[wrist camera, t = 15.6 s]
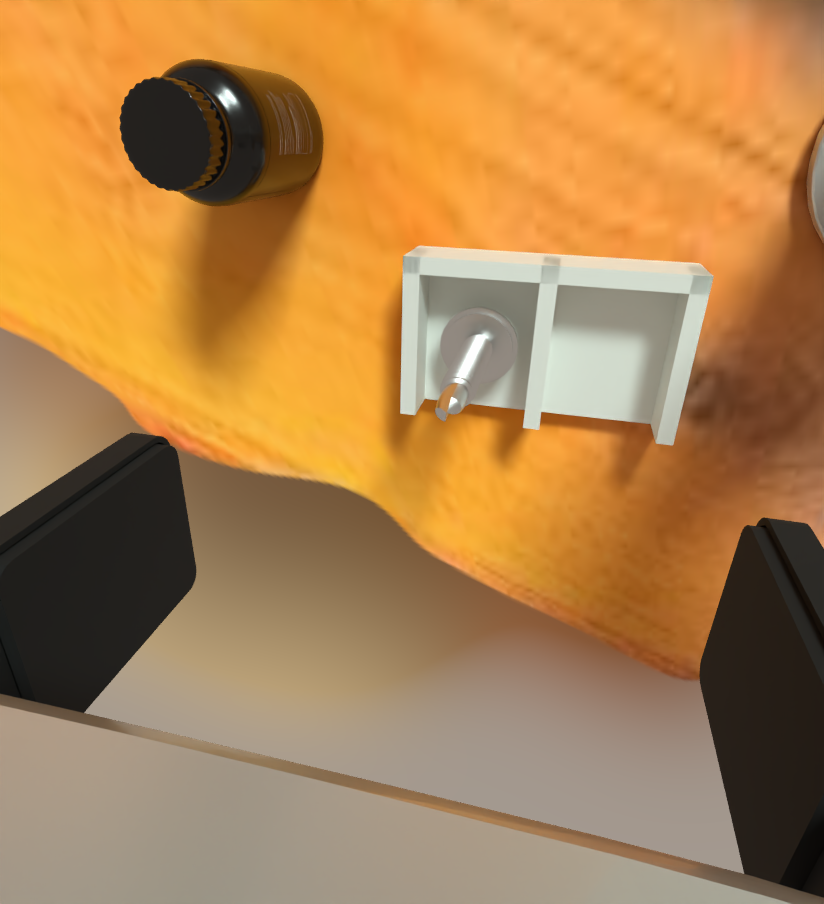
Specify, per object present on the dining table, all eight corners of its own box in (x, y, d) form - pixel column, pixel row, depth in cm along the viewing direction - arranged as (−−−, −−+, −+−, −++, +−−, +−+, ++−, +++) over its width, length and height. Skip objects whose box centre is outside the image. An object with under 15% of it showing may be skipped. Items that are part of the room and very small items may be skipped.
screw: (529, 311, 39) (508, 381, 41) (456, 291, 39) (438, 361, 42) (511, 380, 28) (482, 471, 30) (408, 350, 28) (387, 442, 30)
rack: (699, 263, 37) (713, 276, 33) (664, 418, 41) (673, 445, 37) (418, 245, 40) (403, 255, 36) (414, 391, 44) (400, 413, 41)
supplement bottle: (239, 54, 38) (109, 19, 27) (340, 101, 37) (249, 85, 27) (215, 169, 41) (90, 177, 30) (308, 213, 41) (215, 237, 30)
